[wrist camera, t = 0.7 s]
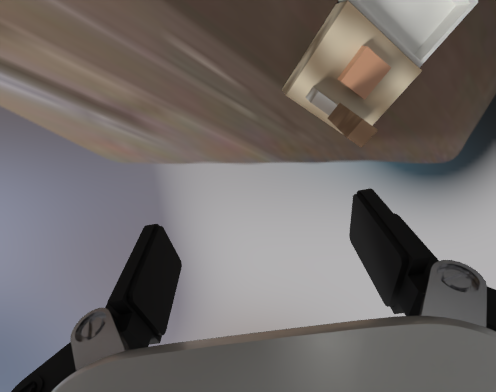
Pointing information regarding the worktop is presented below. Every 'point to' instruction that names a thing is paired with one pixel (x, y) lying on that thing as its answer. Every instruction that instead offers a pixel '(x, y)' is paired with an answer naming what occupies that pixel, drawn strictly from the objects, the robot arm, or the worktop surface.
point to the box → (415, 22)
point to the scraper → (343, 118)
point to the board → (338, 57)
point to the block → (364, 72)
